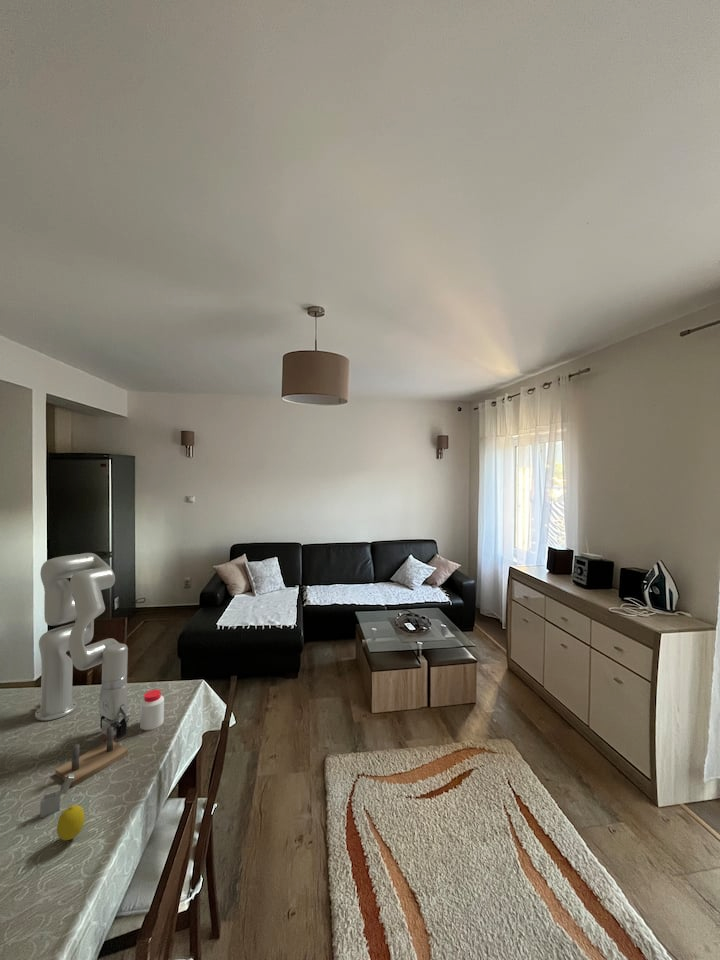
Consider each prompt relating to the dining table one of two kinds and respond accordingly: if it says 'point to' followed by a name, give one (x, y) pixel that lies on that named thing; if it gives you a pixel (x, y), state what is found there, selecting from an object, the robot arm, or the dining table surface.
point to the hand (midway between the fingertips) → (113, 731)
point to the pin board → (92, 760)
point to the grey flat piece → (54, 798)
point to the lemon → (70, 822)
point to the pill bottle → (152, 710)
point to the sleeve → (109, 723)
